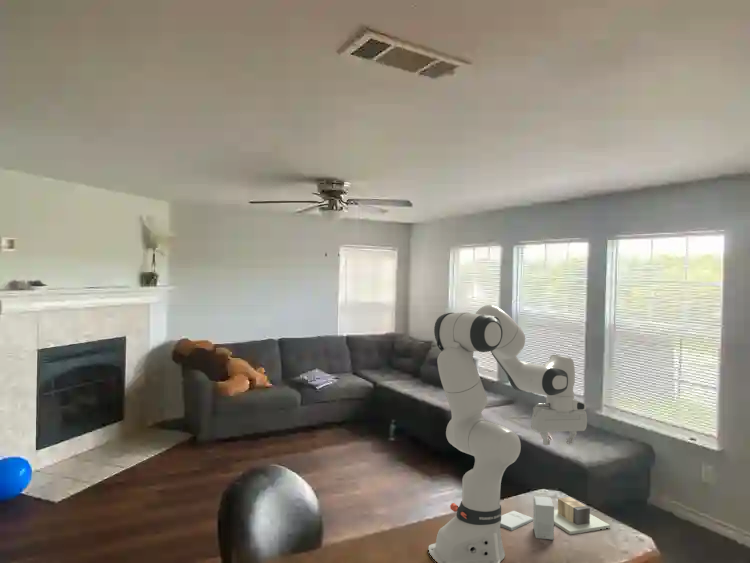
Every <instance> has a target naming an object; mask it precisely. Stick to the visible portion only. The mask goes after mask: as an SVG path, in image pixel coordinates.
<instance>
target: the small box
mask: <svg viewBox="0 0 750 563" xmlns="http://www.w3.org/2000/svg"><path fill="white" fill-rule="evenodd" d="M554 510H555V506H554V503H553V500H552V498H551V497H550V496H537V495H534V496H533V516H532V518H533V521H532V522H533V524H532V525H533V531H534V536H535V539H543V540H552V541H553V540H555V524H554Z"/></svg>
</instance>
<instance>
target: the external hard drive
mask: <svg viewBox="0 0 750 563" xmlns="http://www.w3.org/2000/svg"><path fill="white" fill-rule="evenodd" d="M531 522H533V516H532V517H531V516H529V515H526V514H524V513H521V512H518V511H516V510H511V511H509V512H507V513H504V514H501V522H500V528H504V529H506V530H509V531H514V530H516V529H519V528H521V527H522V526H525V525H527V524H530V523H531Z"/></svg>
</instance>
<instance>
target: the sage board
mask: <svg viewBox="0 0 750 563" xmlns="http://www.w3.org/2000/svg"><path fill="white" fill-rule="evenodd" d="M554 526H556V527H558V528H560V530H562V531H564V532H565V533H567V534H568V535H577V534H581V533H587V532H594V531H601V530H600V529H602V530H607V529H606V528H608V529H610V528H611V524H609V523H607V522H606V521H604V520H601V519H600V518H598V517H596V516H595V515H593V514H591V513H590V523H588V524H582V525H576V524H575V523H573V522H571V521H570V520H568V519H567V518H565V517H563V516H562V515H560V514H558V508H556V509H555V508H554Z"/></svg>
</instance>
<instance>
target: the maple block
mask: <svg viewBox="0 0 750 563" xmlns="http://www.w3.org/2000/svg"><path fill="white" fill-rule="evenodd" d="M557 509H558V514H560V515H562V516H563V517H565V518H567V519H568V520H570V521H571V522H573V523H575V524H576V525H582V524H588V523H590V514H591V508H590V507H588V506H587V505H585V504H583V503H581V502H579V501H578V500H577V499H574V498H573V497H570V496H569V497H568V496H567V497H560V498H557Z"/></svg>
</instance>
